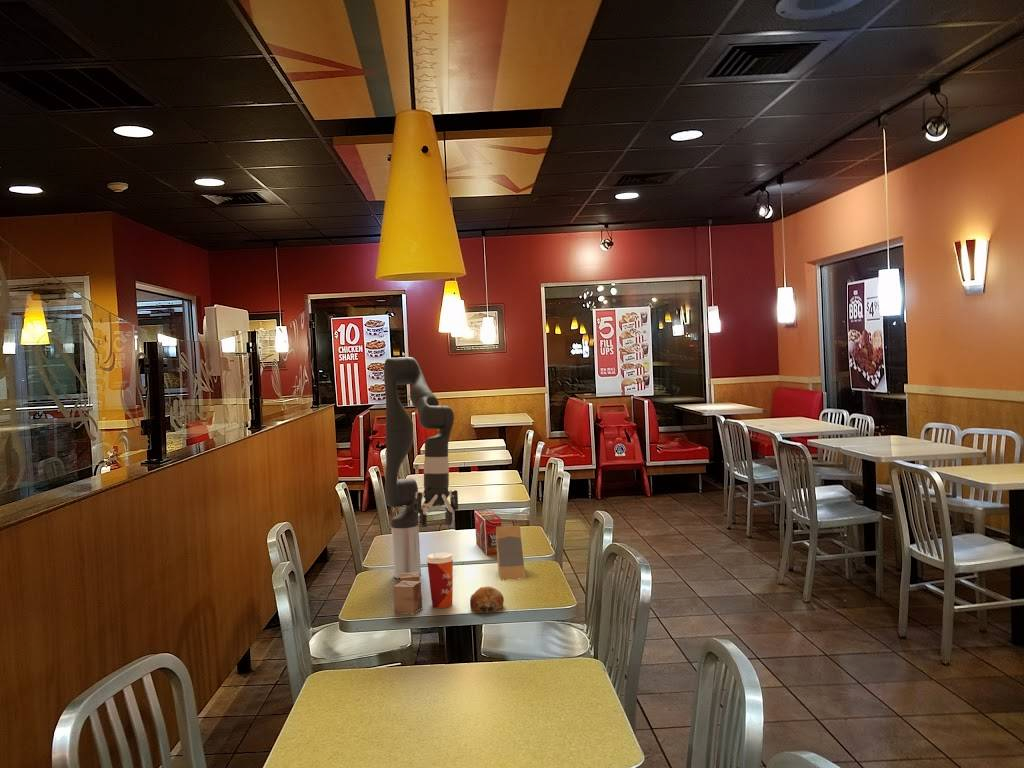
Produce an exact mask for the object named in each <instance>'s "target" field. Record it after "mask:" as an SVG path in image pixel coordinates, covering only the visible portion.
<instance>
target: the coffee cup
mask: <svg viewBox="0 0 1024 768" xmlns="http://www.w3.org/2000/svg"><path fill="white" fill-rule="evenodd" d="M454 560H455V559H454V557H453V554H452V553H450V552H435V553H430V554H428V555H427V557H426V561H425V562H426V563H427V571H428V580H429V589H430V597H431V605H432V608H435V609H445V608H446V607H447V608H450V607H452V606H453V598H454V597H453V592H454V591H453V584H454V581H453V580H454V579H453V577H454V575H453V574H454V572H453V571H454V570H453V568H454V567H453V565H454V564H453V563H454ZM451 605H452V606H451Z"/></svg>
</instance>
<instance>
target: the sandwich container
mask: <svg viewBox="0 0 1024 768" xmlns="http://www.w3.org/2000/svg"><path fill="white" fill-rule="evenodd" d="M521 533H522V532H521V526H520V525H501V526H500V527H496V543H497V554H496V557H497V567H498V568H497V569H498V575H499V578H501V579H500V580H501V581H504V580H503V579H516V580H519V579H518V578H526V571H525V563H524V562H525V561H524V555H523V553H524V552H523V544H522V534H521Z"/></svg>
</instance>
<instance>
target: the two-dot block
mask: <svg viewBox="0 0 1024 768" xmlns="http://www.w3.org/2000/svg"><path fill="white" fill-rule="evenodd" d="M420 577H421V575H420V574H419V572H409V573H400V579H399V583H400V582H401V581H421V578H420Z"/></svg>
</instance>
